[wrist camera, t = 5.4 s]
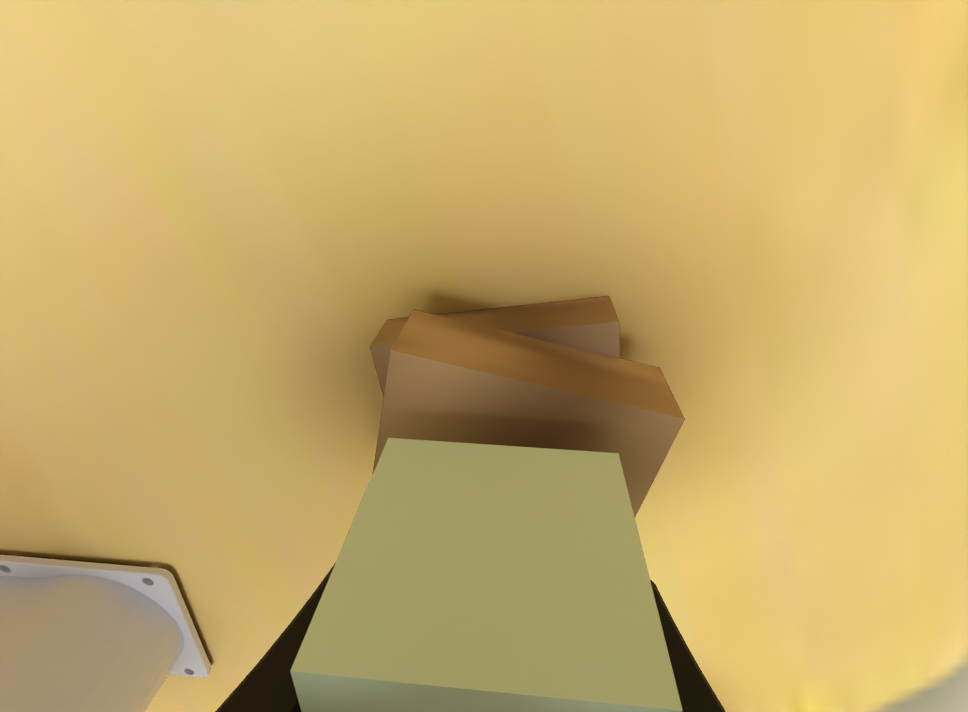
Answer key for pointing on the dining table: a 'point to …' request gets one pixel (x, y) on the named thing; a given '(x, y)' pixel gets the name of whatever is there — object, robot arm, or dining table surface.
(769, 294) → the dining table surface
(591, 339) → the bottom tile
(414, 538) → the mint block
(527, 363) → the top tile
